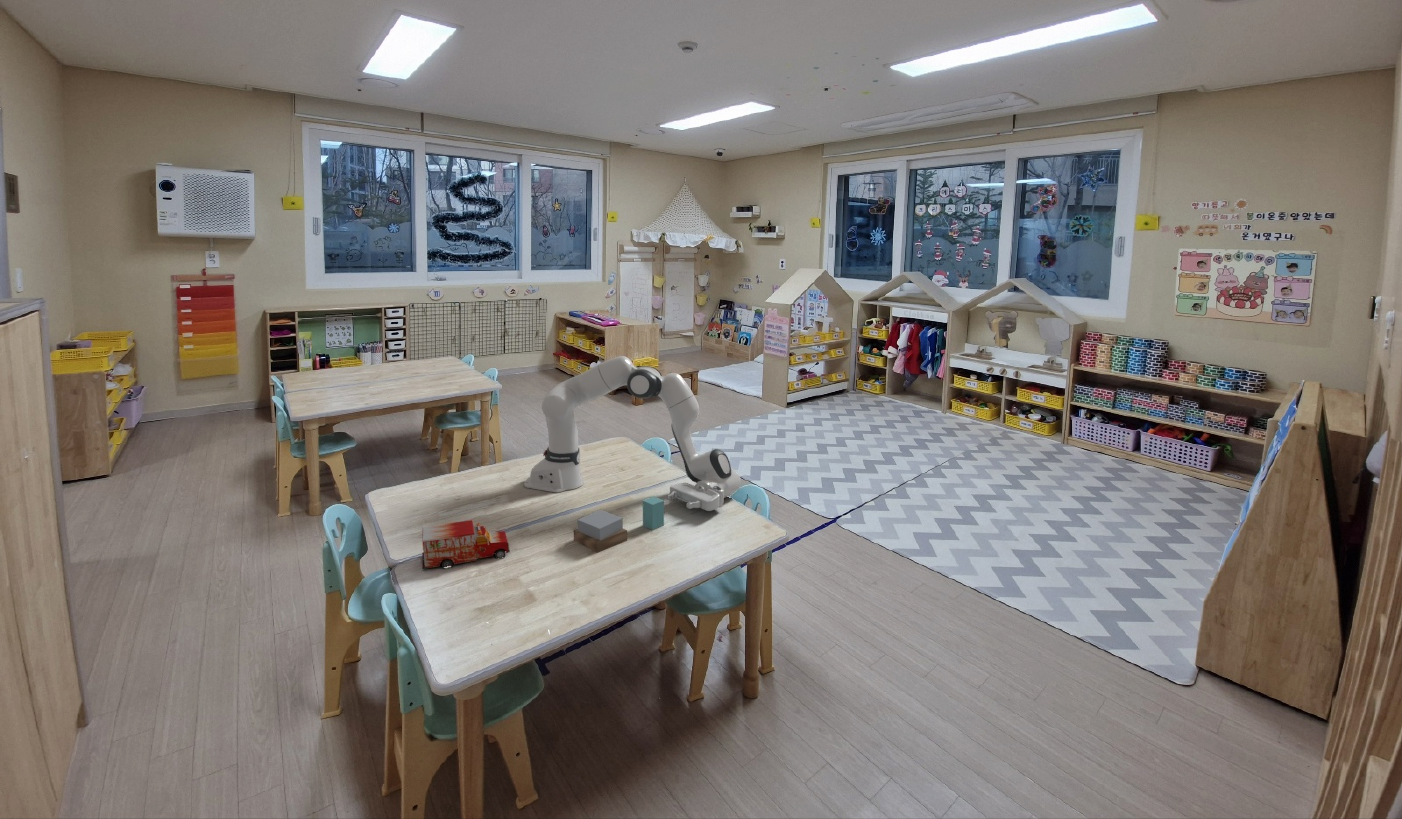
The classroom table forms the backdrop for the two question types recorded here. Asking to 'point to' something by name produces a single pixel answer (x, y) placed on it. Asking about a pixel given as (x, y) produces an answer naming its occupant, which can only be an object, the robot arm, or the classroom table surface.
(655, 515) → the teal column
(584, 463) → the classroom table surface
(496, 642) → the classroom table surface
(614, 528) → the grey slab
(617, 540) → the walnut slab
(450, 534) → the red box-shaped vehicle
